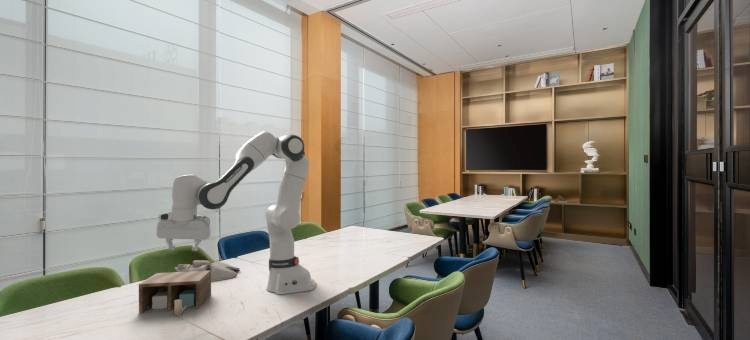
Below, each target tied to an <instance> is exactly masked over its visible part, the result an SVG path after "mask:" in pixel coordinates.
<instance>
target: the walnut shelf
mask: <svg viewBox="0 0 750 340" xmlns="http://www.w3.org/2000/svg"><path fill="white" fill-rule="evenodd" d="M192 289H196V304H195V309H196V310H200V309H201V308H202V307H203V305H204V304H205V303H206V302H207V301H208V300H209V299H210V298H211V296H212V282H211V270H208V271H189V272H178V271H173V272H171V271H170V272H156V273H154V274H153V275H151V276H150V277H148V278H147V279H144V280H143V281H141V282H140V283H138V313H139V314H142V313H144V312H145V311H146V310H148V309H149V308H150V307H152V306H151V305H152V297H153V296H154V295H155V294H157V293H158V292H164V291H168V308H167V311H168V312H171V311H172V310H174V309H175V300H177V299H179V295H180V294H181V293H182V292H183V291H184V290H192Z"/></svg>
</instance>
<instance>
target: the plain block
mask: <svg viewBox="0 0 750 340" xmlns="http://www.w3.org/2000/svg"><path fill="white" fill-rule="evenodd" d="M151 308H152V309H153V310H155V309H156V310H158V309H168V291H164V292H158V293H157V294H155V295H154V296H153V297H152V306H151Z"/></svg>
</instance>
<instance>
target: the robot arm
mask: <svg viewBox="0 0 750 340" xmlns="http://www.w3.org/2000/svg"><path fill="white" fill-rule="evenodd" d="M270 156H274V157H275V158H277V159H280V160H282V159H283V160H284V161H285V167H284V170H283V173H282V176H281V179H280V183H279V185H278V189H277V191H278V195H277V203H274V204H272V205H269V207H267V209H266V211H265V215H264V216H265V219H266V226H267V232H268V238H269V259H268V271H269V276H268V281H267V285H266V290H267V292H268V291H269V292H270V293H274V294H276V295H286V294H294V293H302V292H309V291H313V290H314V289H315V288H316V286H317V284H316V283H317V282H316V281H315V279H313V278H312V276H311V273H310V271H309V270H308V269H307V268H306V267H304V266H302V265H301V264H300V258H299V256H296V255H295V238H294V236H293V232H292V229H295V228H296V227H297V226H298V225H299V223H300V220H301V215H300V208H301V207H300V206H301V197H302V193H303V191H304V188H305V184H306V180H307V176H308V173H309V167H310V166H309V165H310V162H309V160H308V158H307V157H305V156H306V154H305V143H304V140H303V139H302V137H300V136H299V135H295V134H284V135H280V136H278V137H276V136H274V135H273V134H272V133H271V132H269V131H261V132H259V133H258V134H256V135H254V136H253V137H251V138H250V139H248V141H246V143H244V144H243V145H242V147H240V149H239V150H238V151H237V152H236V154H235V161H234V164H233V165H232V166H231V167H230V169H229V170H228V171H226V173H225V174H223V175H222V176H221V177H220V178H219V179H218V180H217V181H214V182H210V181H207V180H205V179H203V178H201V177H199V176H197V175H196V174H194V173H193V174H191V173H190V174H182V175H179V176H177V177H175V178H174V180H173V183H172V188H171V189H172V190H171V191H172V192H171V193H172V194H171V197H172V205H171V210H170V211H167V212H163V213H161V214H159V215H158V220H159V221H158V222H157V225H156V236H157V239H165V242H166V244H167V246H168V250H169V251H174V250H175V249H176V244H173V240H194V245H192V246H191V252H196V251H198V249H199V245H200V243H201V242H202V241H206V240H208V239H209V238H210V237H211V227H210V225H211V223H210V222H211V219H210V218H209V217H208V216H206V215H198V206H199V205H201V206H202V207H204V208H206V209H208V210H217V209H220V208H222V207H223V206H224V205H225V204H226V203H227V201H228V200H229V197H230V195H231V193H232V191H233V190H234V189H235V188H236V187H237V186H238V184H240V183H241V181H242V180H244V179H245V177H246V176H247V175H249V174H250V173H252V172H253V171H254V170H255V169H257V168H258V167H259V166H261V165H262V164H263V163H264V162H265V161H266V160H267V159H268V158H269V157H270Z"/></svg>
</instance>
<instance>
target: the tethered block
mask: <svg viewBox="0 0 750 340" xmlns="http://www.w3.org/2000/svg"><path fill="white" fill-rule="evenodd" d="M194 306H196V289H192V290H184V291H183V292H182V293H181V294H180V295H179V299H177V300H175V307H174V316H175V317H179V316H182V315H183V312H184V311H185V310H186V308H189V307H194Z"/></svg>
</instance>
